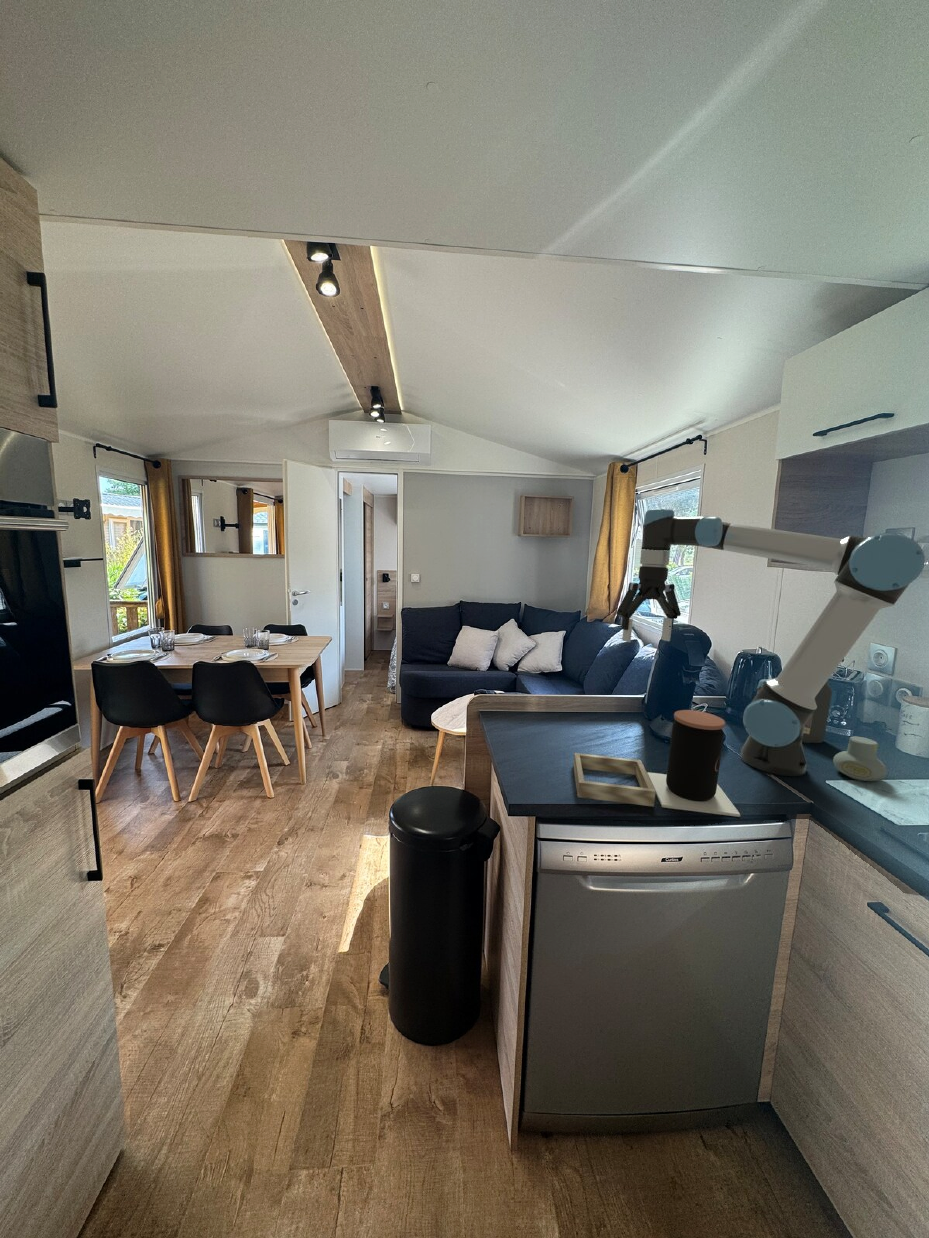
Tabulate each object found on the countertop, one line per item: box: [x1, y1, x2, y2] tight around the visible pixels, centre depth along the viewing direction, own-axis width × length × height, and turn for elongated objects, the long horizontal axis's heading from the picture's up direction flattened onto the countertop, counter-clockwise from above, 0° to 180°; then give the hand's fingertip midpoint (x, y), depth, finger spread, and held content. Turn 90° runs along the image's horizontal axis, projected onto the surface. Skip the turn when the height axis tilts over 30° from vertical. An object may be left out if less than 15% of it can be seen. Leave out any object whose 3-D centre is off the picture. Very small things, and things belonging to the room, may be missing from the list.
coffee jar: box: [666, 709, 726, 802], centre depth 113 cm, size 11×11×18 cm
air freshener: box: [832, 735, 888, 782], centre depth 128 cm, size 11×8×10 cm
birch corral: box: [572, 752, 656, 807], centre depth 116 cm, size 16×16×4 cm
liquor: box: [802, 682, 833, 744], centre depth 152 cm, size 9×9×30 cm
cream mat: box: [646, 771, 741, 818], centre depth 114 cm, size 16×16×1 cm
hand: (646, 640), depth 139 cm, fingers open, 13 cm apart
